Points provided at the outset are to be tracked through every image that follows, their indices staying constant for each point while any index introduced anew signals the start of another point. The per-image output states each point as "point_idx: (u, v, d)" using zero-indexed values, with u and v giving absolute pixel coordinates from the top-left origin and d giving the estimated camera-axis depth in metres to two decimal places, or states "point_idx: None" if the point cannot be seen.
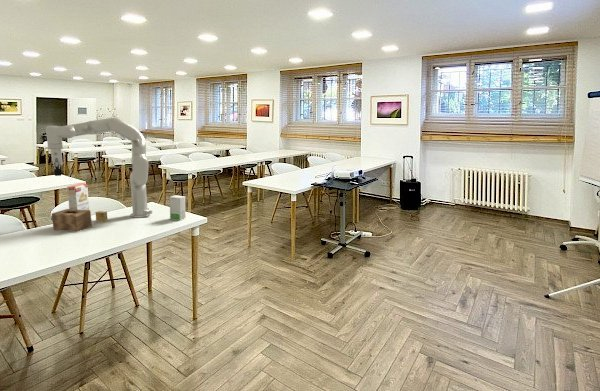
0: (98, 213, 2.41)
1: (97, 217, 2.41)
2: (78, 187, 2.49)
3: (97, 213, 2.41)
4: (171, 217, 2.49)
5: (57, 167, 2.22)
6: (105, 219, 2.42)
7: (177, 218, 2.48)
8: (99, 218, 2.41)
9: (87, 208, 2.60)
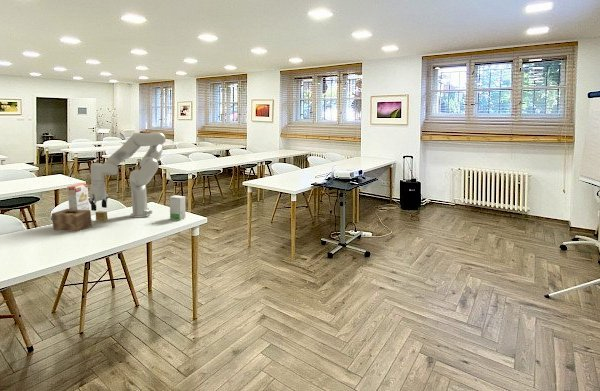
0: (98, 213, 2.41)
1: (97, 217, 2.41)
2: (78, 187, 2.49)
3: (97, 213, 2.41)
4: (171, 217, 2.49)
5: None
6: (105, 219, 2.42)
7: (177, 218, 2.48)
8: (99, 218, 2.41)
9: (87, 208, 2.60)
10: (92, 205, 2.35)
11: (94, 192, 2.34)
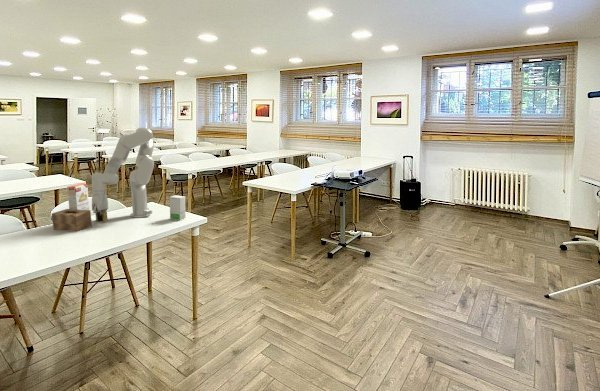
0: None
1: None
2: (78, 187, 2.49)
3: None
4: (171, 217, 2.49)
5: None
6: (105, 219, 2.42)
7: (177, 218, 2.48)
8: None
9: (87, 208, 2.60)
10: (98, 216, 2.40)
11: (96, 202, 2.36)
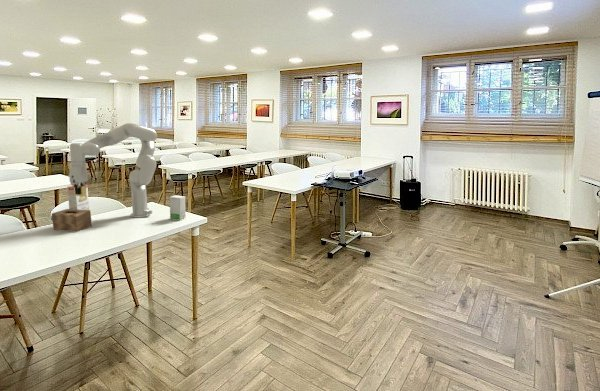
0: None
1: None
2: None
3: None
4: (171, 217, 2.49)
5: None
6: (84, 193, 2.27)
7: (177, 218, 2.48)
8: None
9: (87, 208, 2.60)
10: (75, 189, 2.25)
11: (74, 173, 2.21)
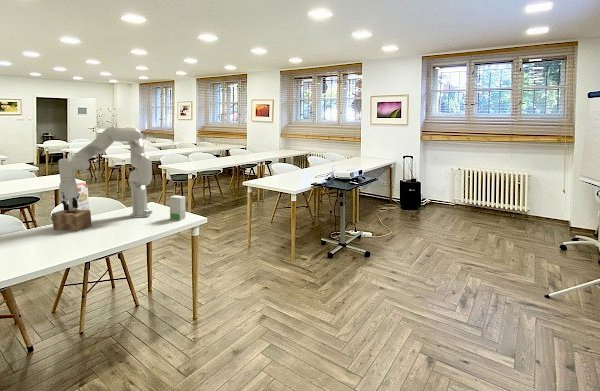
0: None
1: None
2: (78, 187, 2.49)
3: None
4: (171, 217, 2.49)
5: None
6: None
7: (177, 218, 2.48)
8: None
9: (87, 208, 2.60)
10: (64, 205, 2.19)
11: (63, 190, 2.17)
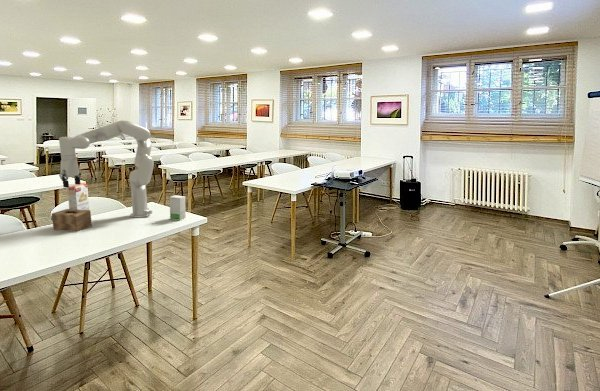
0: None
1: None
2: (78, 187, 2.49)
3: None
4: (171, 217, 2.49)
5: None
6: None
7: (177, 218, 2.48)
8: None
9: (87, 208, 2.60)
10: (63, 182, 2.21)
11: (65, 167, 2.19)
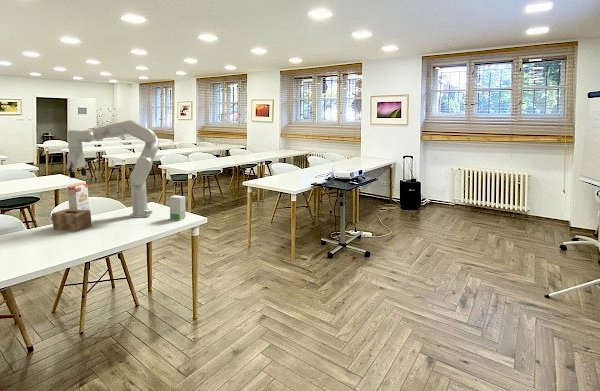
0: None
1: None
2: (78, 187, 2.49)
3: None
4: (171, 217, 2.49)
5: None
6: None
7: (177, 218, 2.48)
8: None
9: (87, 208, 2.60)
10: (70, 173, 2.33)
11: (72, 159, 2.32)
